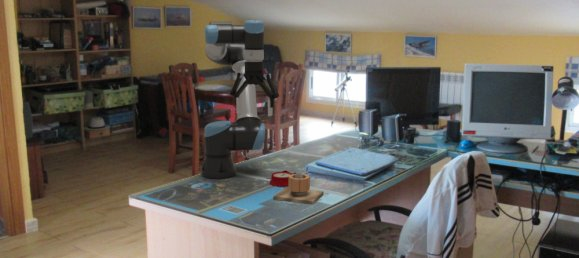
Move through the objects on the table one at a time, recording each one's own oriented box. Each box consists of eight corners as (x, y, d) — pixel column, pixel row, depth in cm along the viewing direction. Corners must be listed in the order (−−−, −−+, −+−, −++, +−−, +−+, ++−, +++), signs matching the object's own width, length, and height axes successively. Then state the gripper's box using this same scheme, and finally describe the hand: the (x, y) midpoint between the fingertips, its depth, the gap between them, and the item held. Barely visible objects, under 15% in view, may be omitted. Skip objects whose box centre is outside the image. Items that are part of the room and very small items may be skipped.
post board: (273, 199, 222) (273, 176, 220) (285, 189, 233) (285, 167, 232) (312, 204, 216) (313, 180, 214) (323, 194, 228) (323, 171, 226)
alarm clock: (263, 176, 240) (285, 161, 251) (265, 189, 242) (287, 174, 253) (282, 181, 234) (304, 165, 244) (284, 194, 236) (306, 179, 246)
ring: (286, 190, 222) (286, 178, 221) (293, 185, 229) (293, 172, 228) (305, 192, 219) (305, 180, 218) (311, 187, 226) (312, 175, 225)
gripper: (221, 60, 225) (221, 113, 229) (280, 62, 216) (280, 118, 220) (229, 58, 232) (230, 110, 236) (287, 61, 223) (287, 115, 227)
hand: (254, 114), depth 228 cm, fingers open, 13 cm apart
